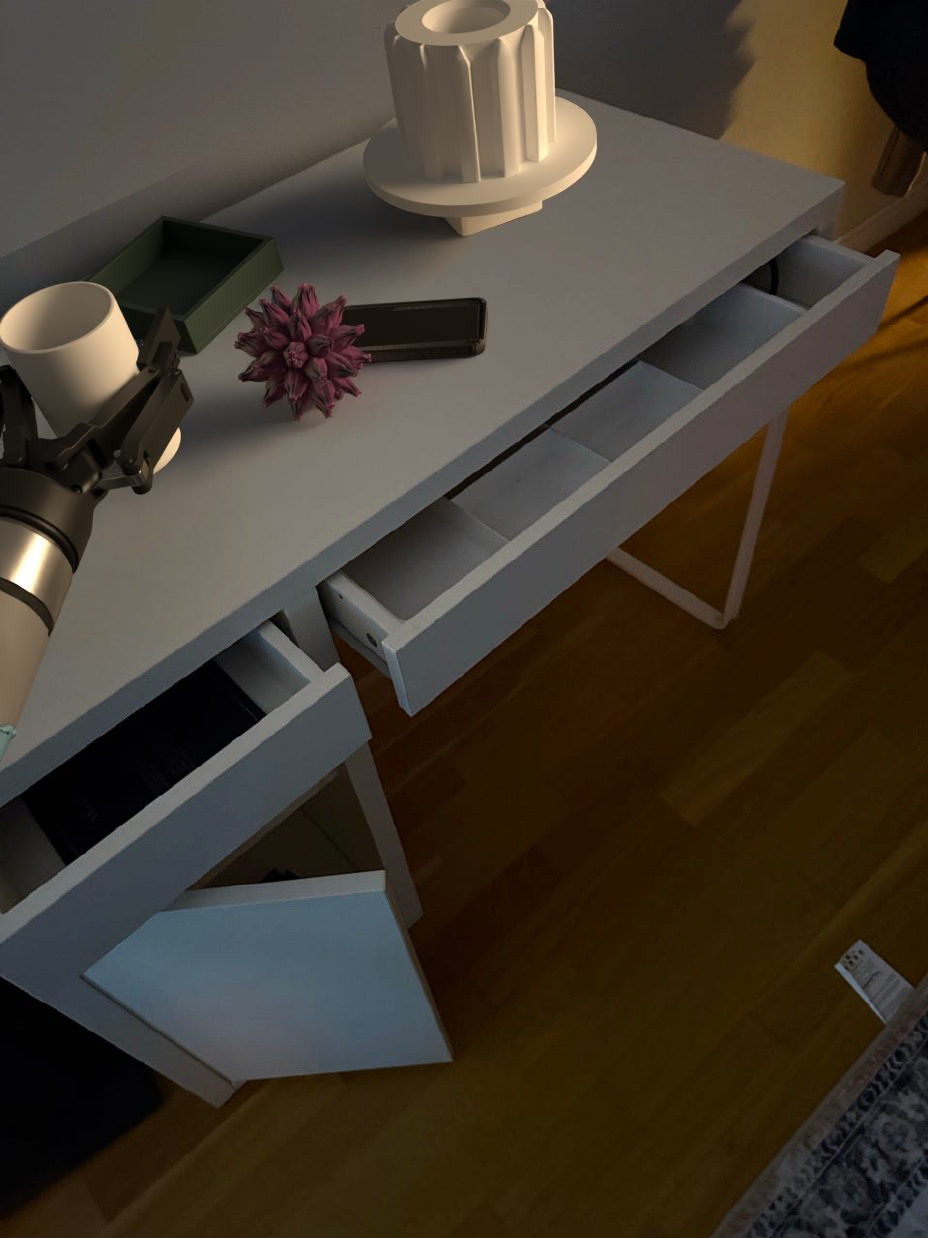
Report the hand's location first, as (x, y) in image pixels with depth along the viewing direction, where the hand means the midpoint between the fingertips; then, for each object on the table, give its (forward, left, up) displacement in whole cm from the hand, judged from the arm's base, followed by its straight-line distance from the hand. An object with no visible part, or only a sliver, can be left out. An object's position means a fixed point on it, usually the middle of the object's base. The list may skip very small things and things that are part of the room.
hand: (114, 326), depth 69 cm
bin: (-17, +22, -15) cm, 31 cm away
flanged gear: (+6, +48, -15) cm, 50 cm away
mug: (+2, -4, -7) cm, 8 cm away
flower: (+7, +12, -15) cm, 20 cm away
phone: (+10, +24, -15) cm, 30 cm away
